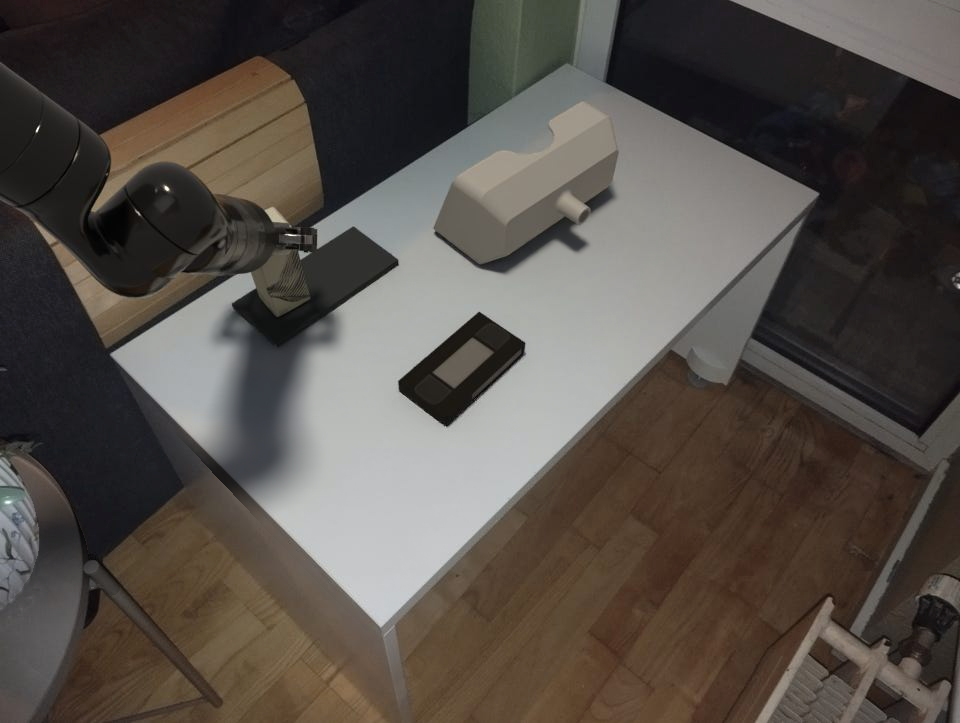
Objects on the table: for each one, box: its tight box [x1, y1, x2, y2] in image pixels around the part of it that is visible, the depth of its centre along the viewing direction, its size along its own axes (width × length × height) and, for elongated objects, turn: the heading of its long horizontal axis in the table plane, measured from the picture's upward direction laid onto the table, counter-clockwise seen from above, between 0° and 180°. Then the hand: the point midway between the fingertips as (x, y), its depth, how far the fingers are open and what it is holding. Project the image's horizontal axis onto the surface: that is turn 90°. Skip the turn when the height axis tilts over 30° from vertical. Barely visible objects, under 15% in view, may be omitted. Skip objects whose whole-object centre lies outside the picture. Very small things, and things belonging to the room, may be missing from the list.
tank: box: [432, 100, 620, 265], centre depth 103 cm, size 25×16×12 cm, turn 134°
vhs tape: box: [397, 311, 526, 427], centre depth 91 cm, size 8×14×2 cm, turn 139°
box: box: [250, 206, 310, 317], centre depth 91 cm, size 5×4×13 cm
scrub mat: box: [231, 226, 400, 349], centre depth 99 cm, size 20×9×1 cm, turn 137°
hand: (271, 238), depth 89 cm, fingers closed on box, 6 cm apart
